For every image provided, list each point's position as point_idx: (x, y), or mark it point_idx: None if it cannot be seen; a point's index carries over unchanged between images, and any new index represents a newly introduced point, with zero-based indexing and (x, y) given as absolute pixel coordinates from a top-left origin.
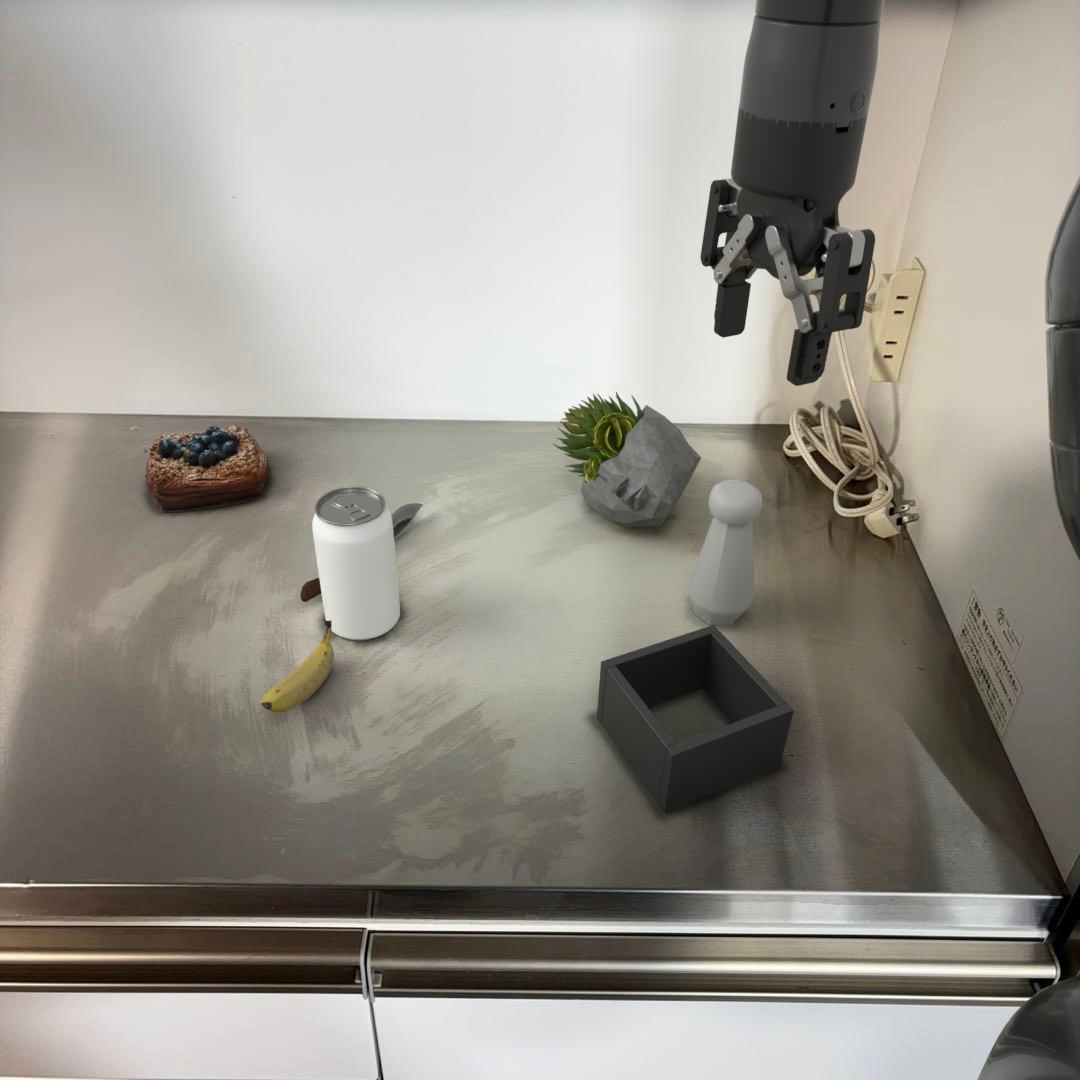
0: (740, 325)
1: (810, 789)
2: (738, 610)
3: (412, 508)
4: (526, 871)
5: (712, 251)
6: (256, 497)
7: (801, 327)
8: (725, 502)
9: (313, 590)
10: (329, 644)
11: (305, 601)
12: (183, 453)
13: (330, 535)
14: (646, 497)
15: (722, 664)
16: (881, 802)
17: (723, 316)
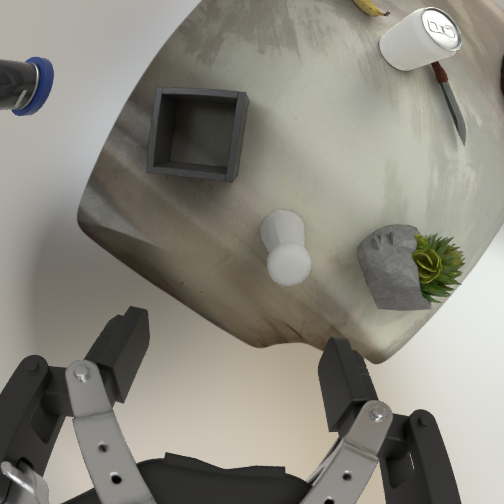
0: (321, 371)
1: (146, 170)
2: (260, 227)
3: (463, 134)
4: (185, 24)
5: (414, 440)
6: (502, 90)
7: (83, 365)
8: (284, 250)
9: None
10: (376, 13)
11: None
12: None
13: (423, 8)
14: (373, 245)
15: (211, 170)
16: (126, 195)
17: (337, 362)
